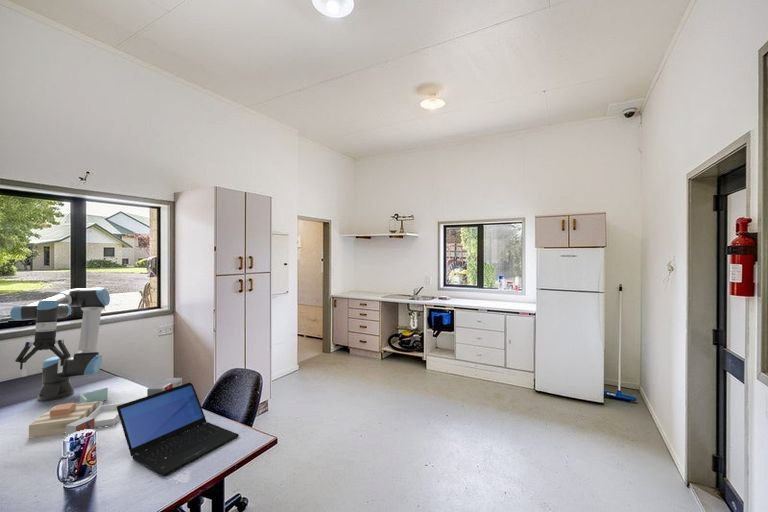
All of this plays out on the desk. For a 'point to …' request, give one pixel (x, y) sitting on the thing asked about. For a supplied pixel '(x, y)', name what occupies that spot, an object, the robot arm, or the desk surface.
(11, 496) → the desk surface
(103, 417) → the box
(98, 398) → the l-shaped corner panel
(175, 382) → the hard drive box
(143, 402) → the laptop
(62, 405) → the tile
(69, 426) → the small box
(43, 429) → the plate
